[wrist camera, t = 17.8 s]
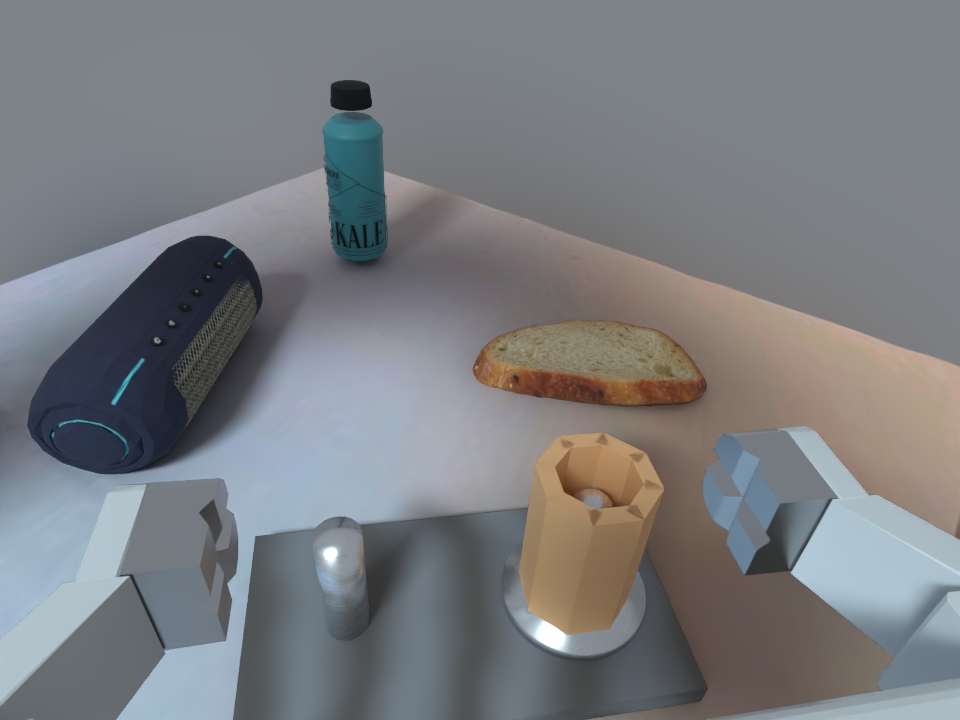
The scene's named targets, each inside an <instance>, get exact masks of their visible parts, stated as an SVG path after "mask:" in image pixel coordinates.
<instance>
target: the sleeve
mask: <svg viewBox="0 0 960 720" xmlns="http://www.w3.org/2000/svg"><path fill="white" fill-rule="evenodd" d="M584 489H596V490H599V491H601V492H603V493H604V494H606V495H607V496H608V498H609V499H610V500H611V502H612V504H613V507H612V508H602V509H594V508H592V507H590V506H588V505H587V504H585V503H583V502H581V501H579V500H577V499H575V498H574V497H573V496H574V495H575V494H576V493H578V492H579V491H581V490H584ZM663 492H664V487H663V485H662V483H661V481H660V479H659V477H658V475H657V473H656V471H655V469H654V467H653V465H652V463H651V462H650V460H649V458H648V456H647V454H646V452H643V451H641V450H639V449H637V448H635V447H633V446H631V445H629V444H627V443H625V442H623V441H620V440H618V439H616V438H614V437H612V436H610V435H608V434H606V433H604V432H601V433H590V434H578V435H566V436H559V437H558V438H557V439H556V440H555V441H554V442H553V444H552V445H551V446H550V447H549V448H548V449H547V450H546V451H545V452H544V454H543V455H542V456H541V457H540V458H539V459H538V460H537V461H536V462H535V466H534V473H533V480H532V486H531V493H530V500H529V507H528V514H527V521H526V527H525V534H524V541H523V548H522V555H521V561H520V568H519V575H520V579H521V583H522V587H523V591H524V595H525V599H526V602H527V606H528V610H529V611H530V612H532V613H533V614H535V615H536V616H538V617H540V618H541V619H543V620H544V621H546V622H547V623H549V624H550V625H552V626H553V627H555V628H557V629H558V630H560V631H561V632H563V633H564V634H566V635H571V634H578V633H586V632H593V631H600V630H607V629H610V628H611V626H612V624H613V623H614V621H615V619H616V618H617V616H618V614H619V613H620V611H621V609H622V608H623V606H624V604H625V603H626V601H627V599H628V598H629V595H630V592H631V589H632V586H633V583H634V580H635V577H636V574H637V571H638V568H639V565H640V562H641V559H642V556H643V553H644V550H645V547H646V544H647V541H648V538H649V535H650V532H651V529H652V526H653V522H654V519H655V516H656V513H657V510H658V507H659V504H660V501H661V498H662V495H663Z"/></svg>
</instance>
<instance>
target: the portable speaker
mask: <svg viewBox="0 0 960 720" xmlns="http://www.w3.org/2000/svg"><path fill="white" fill-rule="evenodd" d="M262 299H263V298H262V288H261V284H260V281H259V277H258V274H257V272H256V270H255V268H254V266H253V263H252V262H251V261H250V259H249V258H248V257H247V256H246V255H245V253H244V252H243V251H241V250H240V249H239V248H237V247H236V246H234V245H233V244H231V243H230V242H228V241H227V240H225V239H221V238H217V237H213V236H195V237H190V238H188V239H185V240H183V241H181V242H179V243H177V244H175V245H172V246H170V247H168V248H167V249H166V250H165V251H164V252H163V253H162V254H161V255H159V256H158V257H157V259H156V260H155V261H154V262H153V263H152V264H151V265H150V266H149V267H148V268H147V269H146V270H145V271H144V272H143V273H142V274H141V275H140V276H139V277H138V278H137V279H136V280H135V281H134V282H133V283H132V284H131V285H130V286H129V287H128V288H127V289H126V290H125V291H124V292H123V293H122V294H121V295H120V296H119V297H118V298H117V299H116V300H115V301H114V302H113V303H112V304H111V306H110V307H109V308H108V309H107V310H106V311H105V312H104V313H103V314H102V315H101V316H100V317H99V318H98V319H97V320H96V321H95V322H94V323H93V324H92V325H91V326H90V327H89V328H88V329H87V330H86V331H85V332H84V333H83V334H82V335H81V336H80V337H79V338H78V339H77V340H76V341H75V342H74V343H73V344H72V345H71V346H70V347H69V348H68V349H67V350H66V351H65V353H64V354H63V355H62V356H61V357H60V358H59V359H58V360H57V361H56V362H55V363H54V364H53V365H52V366H51V367H50V369H49V370H48V372H47V374H46V375H45V377H44V379H43V381H42V382H41V384H40V386H39V388H38V390H37V391H36V393H35V395H34V397H33V399H32V401H31V405H30V410H29V417H28V424H27V426H28V428H29V431H30V433H31V436H32V438H33V439H34V440H35V441H36V442H37V443H38V445H39V446H40V447H41V448H42V449H43V450H44V451H45V452H47V453H48V454H50V455H51V456H53V457H54V458H56V459H57V460H59V461H60V462H62V463H65V464H68V465H71V466H74V467H77V468H80V469H83V470H87V471H91V472H95V473H99V474H119V473H127V472H130V471H133V470H136V469H139V468H142V467H144V466H146V465H148V464H150V463H152V462H154V461H156V460H157V459H159V458H161V457H163V456H164V455H166V454H167V453H168V452H169V451H170V450H171V449H172V448H173V447H174V445H175V444H176V442H177V441H178V439H179V438H180V436H181V435H182V433H183V432H184V430H185V429H186V427H187V426H188V424H189V423H190V421H191V419H192V418H193V416H194V415H195V413H196V411H197V410H198V408H199V407H200V405H201V403H202V402H203V400H204V399H205V397H206V395H207V394H208V392H209V391H210V389H211V387H212V386H213V384H214V383H215V381H216V379H217V378H218V376H219V375H220V373H221V372H222V370H223V368H224V367H225V365H226V364H227V362H228V360H229V359H230V357H231V356H232V354H233V352H234V351H235V349H236V348H237V346H238V344H239V343H240V341H241V340H242V338H243V337H244V335H245V333H246V332H247V330H248V329H249V327H250V325H251V324H252V322H253V320H254V319H255V317H256V315H257V313H258V311H259V309H260V307H261V304H262Z"/></svg>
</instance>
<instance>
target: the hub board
mask: <svg viewBox="0 0 960 720" xmlns="http://www.w3.org/2000/svg"><path fill="white" fill-rule="evenodd" d="M573 497H574V498H575V499H577V500H579V501H581V502H583V503H585V504H587V505H588V506H590V507H592V508H594V509H602V508H612V507H613V504H612V502H611V500H610V499H609V498H608V496H607V495H606V494H604V493H603V492H601V491H599V490H596V489H584V490H581V491H579V492H578V493H576V494H575V495H574V496H573ZM527 514H528V508H527V509H518V510H508V511H498V512H488V513H478V514H469V515H459V516H449V517H439V518H429V519H420V520H410V521H400V522H390V523H380V524H371V525H361V526H359V524H358V523H357V522H356V521H354V520H353V519H350V518H347V517H333V518H330V519H327V520H325V521H323V522H322V523H321V524H319V525H318V526H317V528H316V529H315V530H312V531H302V532H292V533H282V534H273V535H263V536H255V544H254V552H253V561H252V569H251V577H250V585H249V593H248V602H247V610H246V618H245V626H244V634H243V643H242V651H241V659H240V667H239V675H238V684H237V692H236V700H235V708H234V716H233V720H584V719H591V718H597V717H603V716H609V715H616V714H622V713H628V712H634V711H641V710H647V709H653V708H660V707H666V706H672V705H678V704H685V703H691V702H697V701H701V700H702V698H703V696H704V694H705V692H706V690H707V689H708V688H707V686H706V683H705V681H704V679H703V676H702V674H701V672H700V670H699V667H698V665H697V663H696V661H695V658H694V656H693V654H692V652H691V649H690V647H689V645H688V643H687V640H686V638H685V636H684V634H683V631H682V629H681V627H680V625H679V622H678V620H677V618H676V615H675V613H674V611H673V609H672V606H671V604H670V602H669V600H668V597H667V595H666V593H665V591H664V588H663V586H662V584H661V582H660V579H659V577H658V575H657V573H656V570H655V568H654V566H653V564H652V561H651V559H650V557H649V555H648V552H647V550H646V548H645V550H644V553H643V556H642V559H641V562H640V565H639V568H638V571H637V574H636V577H635V580H634V583H633V586H632V589H631V592H630V595H629V598H628V599H627V601H626V603H625V604H624V606H623V608H622V609H621V611H620V613H619V614H618V616H617V618H616V619H615V621H614V623H613V624H612V626H611V628H610V629H607V630H600V631H593V632H586V633H578V634H571V635H566V634H564V633H563V632H561V631H560V630H558V629H557V628H555V627H553V626H552V625H550V624H549V623H547V622H546V621H544V620H543V619H541V618H540V617H538V616H536V615H535V614H533V613H532V612H530V611H529V610H528V606H527V602H526V599H525V595H524V591H523V587H522V583H521V579H520V575H519V568H520V561H521V555H522V548H523V541H524V534H525V527H526V521H527Z"/></svg>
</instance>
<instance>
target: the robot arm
mask: <svg viewBox="0 0 960 720" xmlns="http://www.w3.org/2000/svg"><path fill="white" fill-rule="evenodd" d="M714 451H715V452H716V454H717V456H718V458H719V459H717V460H716V461H715V462H714V463H713V464H712V465H710V466H709V467H708V468H707V470H706V474H705V477H704V480H703V495H704V500H705V503H706V507H707V509H708V511H709V513H710V515H711V517H712V519H713V521H714V522H716V523H717V524H719V525H720V526H722V527H723V528H725V529H726V530H728V534H727V539H726V544H727V546H728V547H729V549H730V551H731V553H732V554H733V556H734V558H735V560H736V561H737V563H738V565H739V567H740V568H741V570H742V572H743V574H744V575H753V574H764V573H774V572H784V571H792V572H791V574H792V575H793V576H795V577H796V578H797V579H798V580H800V581H801V582H802V583H803V584H804V585H806V586H807V587H808V588H809V589H811V590H812V591H813V592H814V593H816V594H817V595H818V596H819V597H820V598H822V599H823V600H824V601H825V602H827V603H828V604H829V605H830V606H832V607H833V608H834V609H835V610H837V611H838V612H839V613H840V614H841V615H843V616H844V617H845V618H846V619H848V620H849V621H850V622H851V623H853V624H854V625H855V626H856V627H857V628H859V629H860V630H861V631H862V632H864V633H865V634H866V635H867V636H869V637H870V638H871V639H872V640H873V641H875V642H876V643H877V644H878V645H880V646H881V647H882V648H883V649H885V650H886V651H887V652H888V653H889V654H891V655H892V656H893V657H894V658H893V659H892V660H891V661H890V663H889V664H888V665H887V666H886V667H885V669H884V670H883V671H882V672H881V674H880V675H879V678H878V681H877V684H878V686H879V687H880V689H881V690H882V691H876V692H870V693H864V694H857V695H851V696H845V697H839V698H833V699H827V700H821V701H815V702H808V703H802V704H796V705H790V706H784V707H778V708H772V709H765V710H759V711H753V712H747V713H741V714H735V715H729V716H723V717H716V718H710V719H704V720H960V540H958V539H957V538H955V537H953V536H951V535H950V534H948V533H946V532H944V531H942V530H940V529H939V528H937V527H935V526H933V525H931V524H929V523H928V522H926V521H924V520H922V519H920V518H918V517H917V516H915V515H913V514H911V513H909V512H907V511H906V510H904V509H902V508H900V507H898V506H897V505H895V504H893V503H891V502H889V501H887V500H886V499H884V498H882V497H880V496H878V495H868V494H867V493H866V491H865V490H864V489H863V488H862V487H861V485H860V484H859V483H858V482H857V481H856V479H855V478H854V477H853V476H852V475H851V473H850V472H849V471H848V470H847V469H846V467H845V466H844V465H843V464H842V463H841V461H840V460H839V459H838V458H837V457H836V455H835V454H834V453H833V452H832V451H831V449H830V448H829V447H828V446H827V445H826V443H825V442H824V441H823V440H822V439H821V437H820V436H819V435H818V434H817V433H816V431H814V430H813V429H811V428H809V427H808V426H799V427H788V428H779V429H766V430H756V431H746V432H736V433H726V434H724V435H722V436H721V437H720V438H719V439H718V441H717V444H716V446H715V449H714ZM227 500H228V492H227V488H226V485H225V482H224V480H223V479H220V478H218V479H202V480H186V481H171V482H155V483H148V484H133V485H118V486H114V487H113V488H112V489H111V490H110V492H109V493H108V494H107V495H106V498H105V501H104V503H103V506H102V509H101V512H100V514H99V517H98V520H97V522H96V525H95V528H94V531H93V533H92V536H91V539H90V541H89V544H88V547H87V550H86V552H85V555H84V558H83V560H82V563H81V566H80V569H79V571H78V574H77V577H76V579H75V582H67V583H63V584H62V585H60V586H59V587H58V588H57V589H56V590H55V591H54V592H53V593H52V594H50V595H49V596H48V597H47V598H46V599H45V600H44V601H43V602H41V603H40V604H39V605H38V606H37V607H36V608H35V609H34V610H33V611H31V612H30V613H29V614H28V615H27V616H26V617H25V618H24V619H22V620H21V621H20V622H19V623H18V624H17V625H16V626H15V627H14V628H12V629H11V630H10V631H9V632H8V633H7V634H6V635H5V636H3V637H2V638H1V639H0V720H116V719H117V718H118V716H119V715H120V714H121V712H122V711H123V709H124V708H125V707H126V705H127V704H128V703H129V701H130V700H131V699H132V697H133V696H134V695H135V693H136V692H137V691H138V689H139V688H140V687H141V685H142V684H143V683H144V681H145V680H146V679H147V677H148V676H149V675H150V673H151V672H152V671H153V669H154V668H155V667H156V665H157V664H158V663H159V661H160V660H161V659H162V657H163V656H164V655H165V652H164V650H169V649H176V648H182V647H189V646H195V645H202V644H209V643H215V642H222V641H226V637H227V630H228V623H229V617H230V610H231V604H232V599H231V595H230V592H229V588H228V585H227V583H228V582H229V581H230V580H231V579H232V578H233V577H234V576H235V574H236V568H237V561H238V533H237V525H236V521H235V517H234V514H233V513H232V512H230V511H229V510H227V509H226V506H227Z"/></svg>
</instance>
